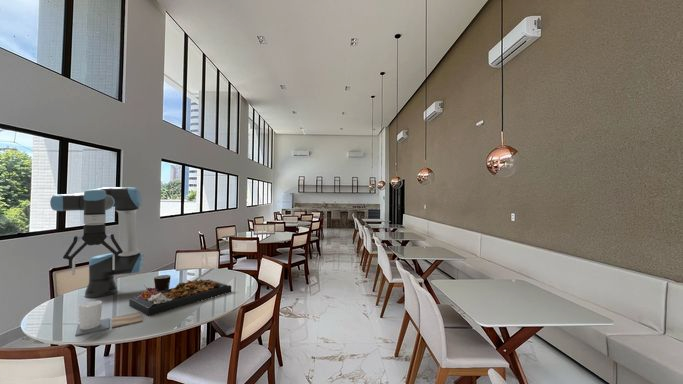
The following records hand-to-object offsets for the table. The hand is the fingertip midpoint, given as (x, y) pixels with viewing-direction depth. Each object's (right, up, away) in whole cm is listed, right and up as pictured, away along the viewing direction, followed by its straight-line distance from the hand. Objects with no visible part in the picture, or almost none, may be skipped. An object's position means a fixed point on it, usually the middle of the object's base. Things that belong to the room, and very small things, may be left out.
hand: (94, 271), depth 131 cm
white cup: (-1, -24, -1) cm, 24 cm away
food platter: (+20, -26, +37) cm, 49 cm away
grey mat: (0, -25, -1) cm, 25 cm away
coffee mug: (+3, -26, +47) cm, 54 cm away
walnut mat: (+10, -25, +7) cm, 27 cm away
